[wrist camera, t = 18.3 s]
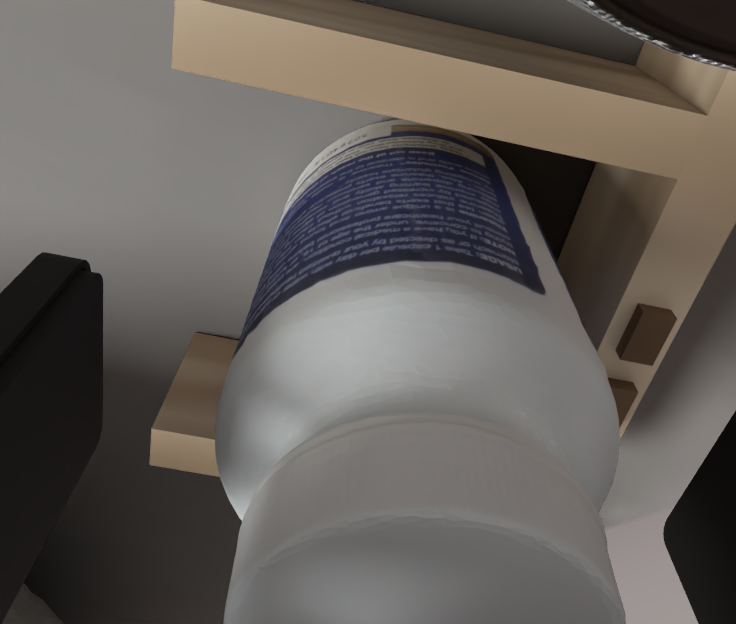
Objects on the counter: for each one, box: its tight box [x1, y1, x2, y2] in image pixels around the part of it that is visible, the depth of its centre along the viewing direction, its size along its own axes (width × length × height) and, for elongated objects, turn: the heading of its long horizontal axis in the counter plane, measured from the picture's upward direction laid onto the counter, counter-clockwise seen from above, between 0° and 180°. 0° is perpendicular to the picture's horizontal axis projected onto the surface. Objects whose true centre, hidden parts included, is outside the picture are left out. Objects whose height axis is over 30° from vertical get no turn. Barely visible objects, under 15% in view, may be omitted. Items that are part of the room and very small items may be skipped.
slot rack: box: [149, 0, 736, 477], centre depth 11 cm, size 17×9×4 cm, turn 168°
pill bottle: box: [215, 119, 626, 624], centre depth 11 cm, size 5×5×10 cm
